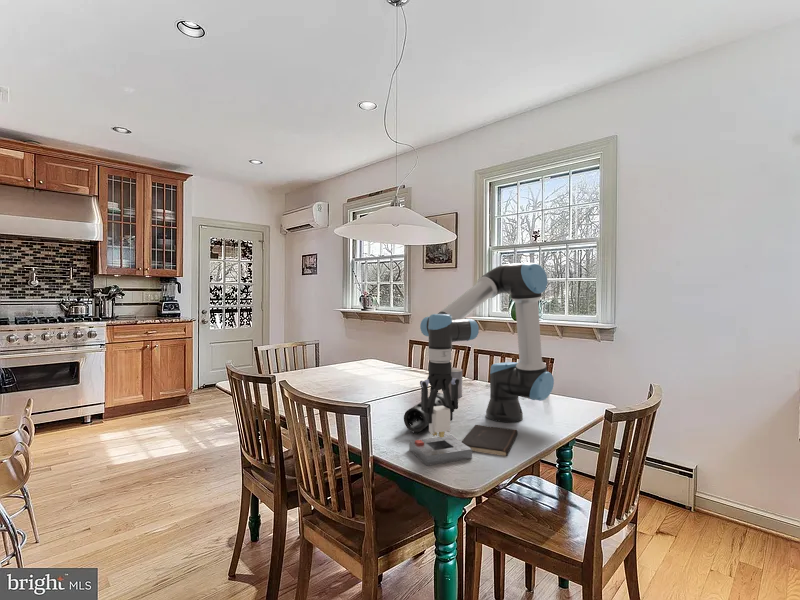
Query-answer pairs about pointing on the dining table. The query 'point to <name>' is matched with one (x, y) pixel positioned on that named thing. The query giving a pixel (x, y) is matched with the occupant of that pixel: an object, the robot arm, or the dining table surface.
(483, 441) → the hardcover book
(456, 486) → the dining table surface
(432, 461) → the socket plate
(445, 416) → the plug
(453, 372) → the pillar candle
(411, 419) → the muzzle brake
